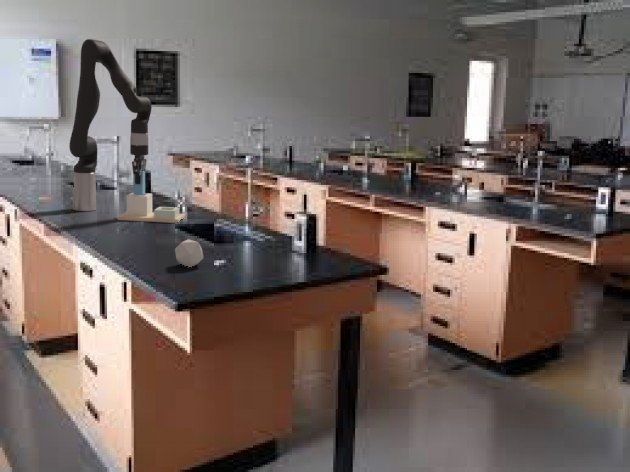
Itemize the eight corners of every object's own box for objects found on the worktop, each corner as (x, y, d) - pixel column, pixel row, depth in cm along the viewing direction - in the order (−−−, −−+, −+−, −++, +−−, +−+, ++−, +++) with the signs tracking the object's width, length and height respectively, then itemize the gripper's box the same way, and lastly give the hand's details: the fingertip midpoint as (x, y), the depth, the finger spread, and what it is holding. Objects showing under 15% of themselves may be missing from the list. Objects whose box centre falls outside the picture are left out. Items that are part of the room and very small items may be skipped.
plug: (133, 194, 277) (133, 171, 275) (136, 193, 281) (136, 170, 279) (142, 194, 277) (142, 171, 275) (145, 193, 281) (145, 170, 279)
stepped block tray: (117, 219, 272) (117, 196, 270) (127, 214, 286) (127, 192, 284) (178, 223, 272) (178, 199, 270) (185, 217, 286) (185, 195, 284)
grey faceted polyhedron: (183, 262, 210) (167, 241, 204) (207, 250, 210) (192, 228, 204) (185, 278, 203) (169, 256, 197) (210, 265, 203) (195, 243, 197)
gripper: (135, 142, 281) (135, 180, 285) (125, 144, 267) (125, 185, 271) (152, 143, 281) (152, 181, 285) (143, 145, 267) (143, 186, 271)
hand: (139, 183), depth 278 cm, fingers closed on plug, 4 cm apart
